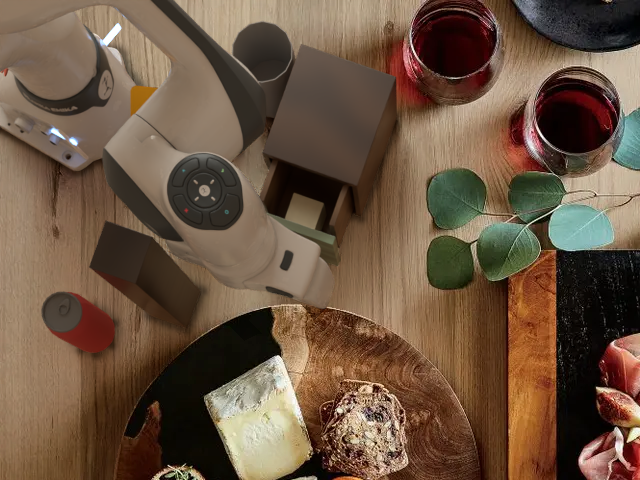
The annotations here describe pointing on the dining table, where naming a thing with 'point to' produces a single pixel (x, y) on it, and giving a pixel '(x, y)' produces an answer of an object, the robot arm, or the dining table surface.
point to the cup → (266, 59)
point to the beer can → (78, 321)
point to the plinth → (145, 274)
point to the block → (306, 212)
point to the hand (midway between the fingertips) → (261, 281)
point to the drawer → (330, 192)
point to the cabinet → (334, 121)
